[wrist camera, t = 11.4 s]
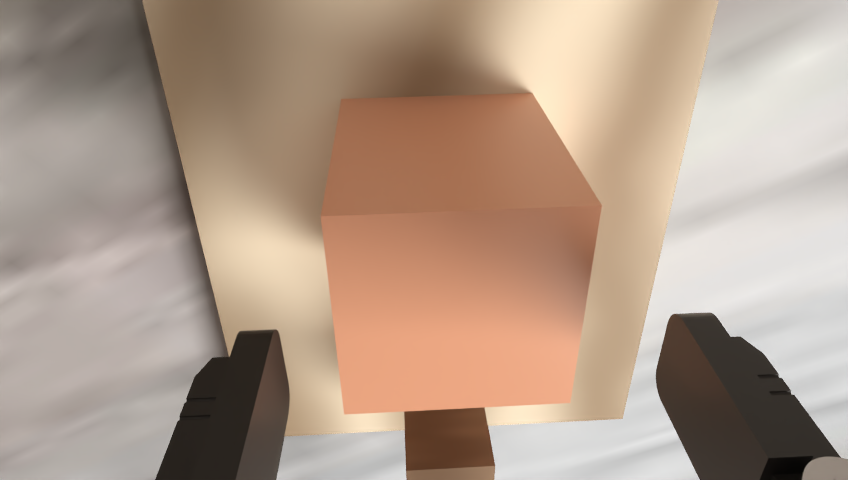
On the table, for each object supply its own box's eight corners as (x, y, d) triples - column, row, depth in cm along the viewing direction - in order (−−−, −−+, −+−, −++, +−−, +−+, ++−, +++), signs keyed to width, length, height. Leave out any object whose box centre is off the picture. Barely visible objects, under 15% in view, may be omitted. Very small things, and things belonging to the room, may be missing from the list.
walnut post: (473, 345, 22) (495, 466, 18) (471, 396, 24) (490, 519, 19) (401, 349, 22) (406, 470, 18) (404, 399, 24) (408, 524, 19)
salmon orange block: (532, 93, 17) (601, 205, 12) (519, 252, 20) (570, 402, 15) (341, 98, 17) (320, 216, 12) (355, 258, 20) (343, 414, 15)
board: (782, -401, 13) (815, -422, 12) (613, 396, 26) (622, 418, 25) (66, -402, 13) (38, -424, 12) (254, 414, 25) (248, 438, 24)
